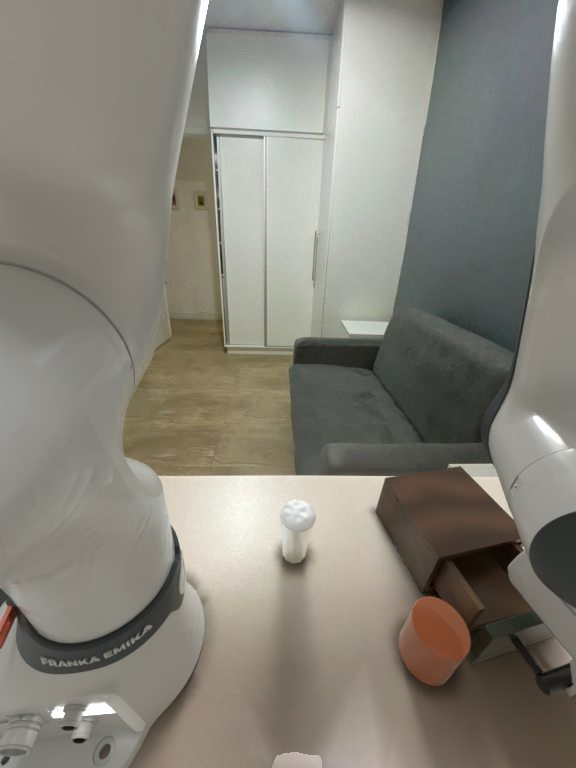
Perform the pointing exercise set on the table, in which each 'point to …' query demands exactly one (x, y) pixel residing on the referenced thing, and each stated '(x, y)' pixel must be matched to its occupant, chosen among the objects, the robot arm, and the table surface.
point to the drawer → (497, 610)
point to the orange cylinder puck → (433, 641)
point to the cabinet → (441, 519)
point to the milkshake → (296, 529)
